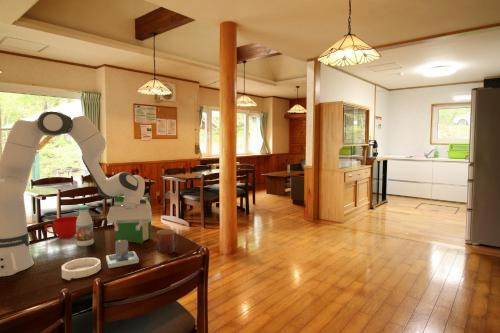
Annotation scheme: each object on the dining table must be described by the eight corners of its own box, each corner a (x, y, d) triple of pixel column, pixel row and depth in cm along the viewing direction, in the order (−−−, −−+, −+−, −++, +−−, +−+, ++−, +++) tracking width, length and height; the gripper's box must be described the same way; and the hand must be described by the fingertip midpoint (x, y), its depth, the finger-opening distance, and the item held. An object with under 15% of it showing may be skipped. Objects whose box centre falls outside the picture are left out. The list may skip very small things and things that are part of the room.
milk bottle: (75, 243, 164) (73, 206, 162) (91, 240, 169) (89, 204, 167) (79, 247, 158) (77, 208, 156) (95, 244, 163) (93, 206, 161)
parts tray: (109, 269, 132) (108, 264, 132) (106, 261, 141) (106, 255, 141) (138, 264, 138) (138, 258, 138) (134, 256, 147) (134, 250, 147)
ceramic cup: (42, 238, 173) (41, 220, 172) (76, 232, 185) (75, 215, 184) (49, 244, 164) (48, 225, 163) (83, 236, 176) (83, 219, 175)
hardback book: (151, 239, 172) (149, 195, 170) (141, 243, 165) (140, 198, 163) (125, 235, 178) (124, 193, 176) (115, 239, 171) (114, 195, 169)
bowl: (61, 283, 120) (61, 274, 120) (62, 269, 132) (61, 261, 132) (102, 275, 127) (101, 266, 126) (99, 263, 139) (98, 255, 139)
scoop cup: (116, 264, 136) (116, 242, 135) (115, 260, 140) (114, 239, 140) (129, 261, 138) (128, 240, 138) (127, 257, 143) (126, 237, 142)
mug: (179, 252, 152) (179, 231, 151) (163, 257, 146) (162, 235, 145) (166, 246, 161) (165, 226, 160) (150, 250, 154) (149, 230, 154)
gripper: (108, 201, 152) (101, 227, 143) (152, 201, 154) (147, 226, 145) (112, 208, 157) (105, 233, 148) (154, 207, 159) (150, 232, 150)
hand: (127, 230), depth 147 cm, fingers open, 8 cm apart
